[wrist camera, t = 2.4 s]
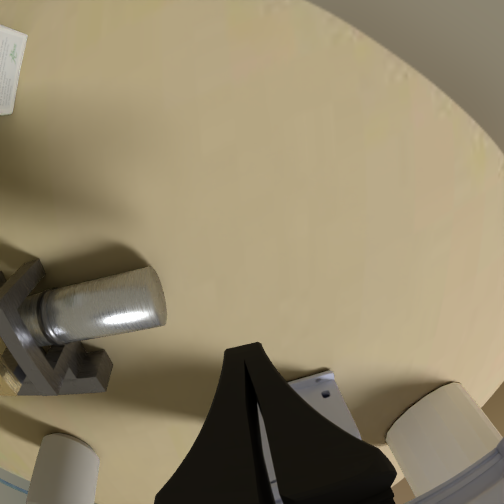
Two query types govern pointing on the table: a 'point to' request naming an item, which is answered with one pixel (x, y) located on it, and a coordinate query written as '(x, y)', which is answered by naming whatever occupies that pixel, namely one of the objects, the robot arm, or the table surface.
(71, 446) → the can
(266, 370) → the robot arm
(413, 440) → the container
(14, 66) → the syrup box
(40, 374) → the collar bracket
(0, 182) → the table surface
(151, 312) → the tube
